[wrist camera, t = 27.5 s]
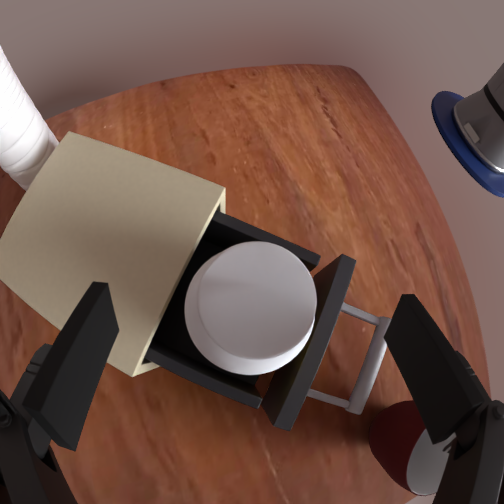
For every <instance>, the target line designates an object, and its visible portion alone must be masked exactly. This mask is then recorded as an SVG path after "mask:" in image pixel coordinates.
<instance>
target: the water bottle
mask: <svg viewBox="0 0 504 504" xmlns="http://www.w3.org/2000/svg"><path fill="white" fill-rule="evenodd" d="M58 144H59V142H58V140H57V139H56V137H55V136H54V134H53V133H52V131H51V130H50V129H49V128H48V125H47V124H46V122H45V121H44V120H43V119H42V116H41V115H40V113H39V111H38V110H37V109H36V107H35V106H34V104H33V102H32V100H31V98H30V97H29V96H28V94H27V93H26V91H25V90H24V88H23V86H22V85H21V83H20V81H19V80H18V78H17V76H16V74H15V73H14V70H13V69H12V67H11V65H10V63H9V62H8V61H7V58H6V56H5V55H4V53H3V50H2V48H1V45H0V166H1V168H2V169H3V170H4V171H5V172H6V173H8V174H9V175H10V177H11V178H12V179H13V180H14V181H16V182H17V183H18V184H19V185H20V186H21V187H22V188H23V189H24V190H25V191H27V190H28V188H29V186H30V185H31V183H32V182H33V180H34V179H35V177H36V175H37V174H38V172H39V171H40V169H41V168H42V167H43V165H44V164H45V162H46V161H47V159H48V158H49V157H50V155H51V154H52V152H53V151H54V150H55V148H56V147H57V146H58Z"/></svg>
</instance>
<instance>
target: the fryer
mask: <svg viewBox="0 0 504 504" xmlns="http://www.w3.org/2000/svg"><path fill="white" fill-rule="evenodd" d="M216 210H217V211H219V212H222V213H224V214H225V187H223V186H220V185H218V184H215V183H213V182H210V181H208V180H205V179H202V178H200V177H197V176H195V175H192V174H190V173H187V172H184V171H182V170H179V169H176V168H174V167H171V166H169V165H166V164H163V163H160V162H158V161H155V160H152V159H150V158H147V157H144V156H141V155H138V154H136V153H133V152H130V151H127V150H124V149H121V148H118V147H115V146H113V145H110V144H107V143H104V142H101V141H98V140H95V139H92V138H89V137H85V136H82V135H79V134H76V133H73V132H70V131H69V132H68V133H67V134H66V135H65V137H64V138H63V139H62V140H61V142H60V143H59V144H58V146H57V147H56V148H55V150H54V151H53V152H52V154H51V155H50V157H49V158H48V159H47V161H46V162H45V164H44V165H43V167H42V168H41V169H40V171H39V172H38V174H37V175H36V177H35V179H34V180H33V182H32V183H31V185H30V186H29V188H28V190H27V191H26V193H25V195H24V196H23V198H22V200H21V201H20V203H19V205H18V207H17V208H16V210H15V212H14V214H13V216H12V217H11V219H10V221H9V223H8V225H7V227H6V229H5V231H4V233H3V235H2V237H1V239H0V279H1V280H2V281H3V282H4V283H5V284H6V285H7V286H8V287H9V288H10V289H11V290H12V291H13V292H15V293H16V294H17V295H18V296H19V297H20V298H21V299H22V300H24V301H25V302H26V303H27V304H28V305H29V306H31V307H32V308H33V309H34V310H35V311H37V312H38V313H39V314H40V315H41V316H43V317H44V318H45V319H46V320H48V321H49V322H50V323H52V324H53V325H54V326H55V327H57V328H58V329H59V330H62V328H63V326H64V325H65V323H66V322H67V320H68V318H69V317H70V315H71V314H72V312H73V310H74V309H75V307H76V306H77V304H78V303H79V301H80V300H81V298H82V297H83V295H84V294H85V292H86V291H87V289H88V288H89V286H90V285H91V283H92V282H93V281H96V282H106V283H108V285H109V289H110V294H111V298H112V303H113V307H114V311H115V315H116V319H117V323H118V326H119V330H120V331H119V333H118V335H117V338H116V340H115V342H114V345H113V347H112V350H111V352H110V354H109V357H108V359H107V363H109V364H111V365H112V366H114V367H116V368H117V369H119V370H121V371H122V372H124V373H126V374H127V375H129V376H131V377H134V376H136V375H139V374H141V373H144V372H147V371H149V370H152V369H155V368H157V367H161V366H159V365H157V364H155V363H153V362H151V361H150V360H148V359H146V358H144V356H145V354H146V352H147V349H148V347H149V345H150V343H151V341H152V338H153V336H154V334H155V332H156V330H157V327H158V325H159V323H160V321H161V319H162V317H163V315H164V312H165V310H166V308H167V306H168V304H169V302H170V300H171V298H172V296H173V294H174V292H175V289H176V287H177V285H178V283H179V281H180V279H181V277H182V275H183V273H184V271H185V269H186V267H187V265H188V263H189V261H190V259H191V257H192V255H193V253H194V251H195V249H196V247H197V246H198V244H199V242H200V240H201V238H202V236H203V234H204V232H205V230H206V228H207V226H208V224H209V223H210V221H211V219H212V217H213V215H214V213H215V211H216Z"/></svg>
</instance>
